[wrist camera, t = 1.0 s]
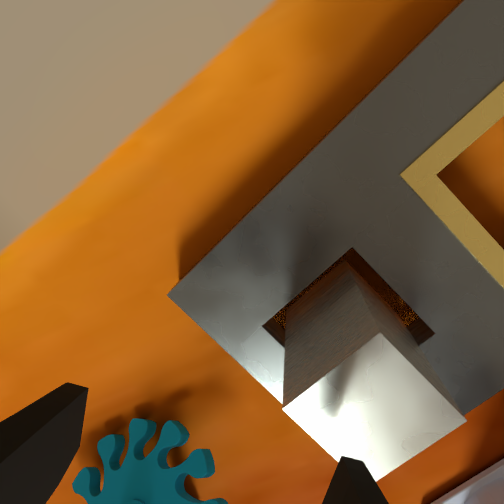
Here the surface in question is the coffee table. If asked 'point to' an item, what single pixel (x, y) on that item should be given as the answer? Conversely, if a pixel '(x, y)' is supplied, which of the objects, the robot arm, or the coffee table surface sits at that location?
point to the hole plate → (379, 218)
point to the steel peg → (361, 376)
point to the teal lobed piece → (144, 468)
